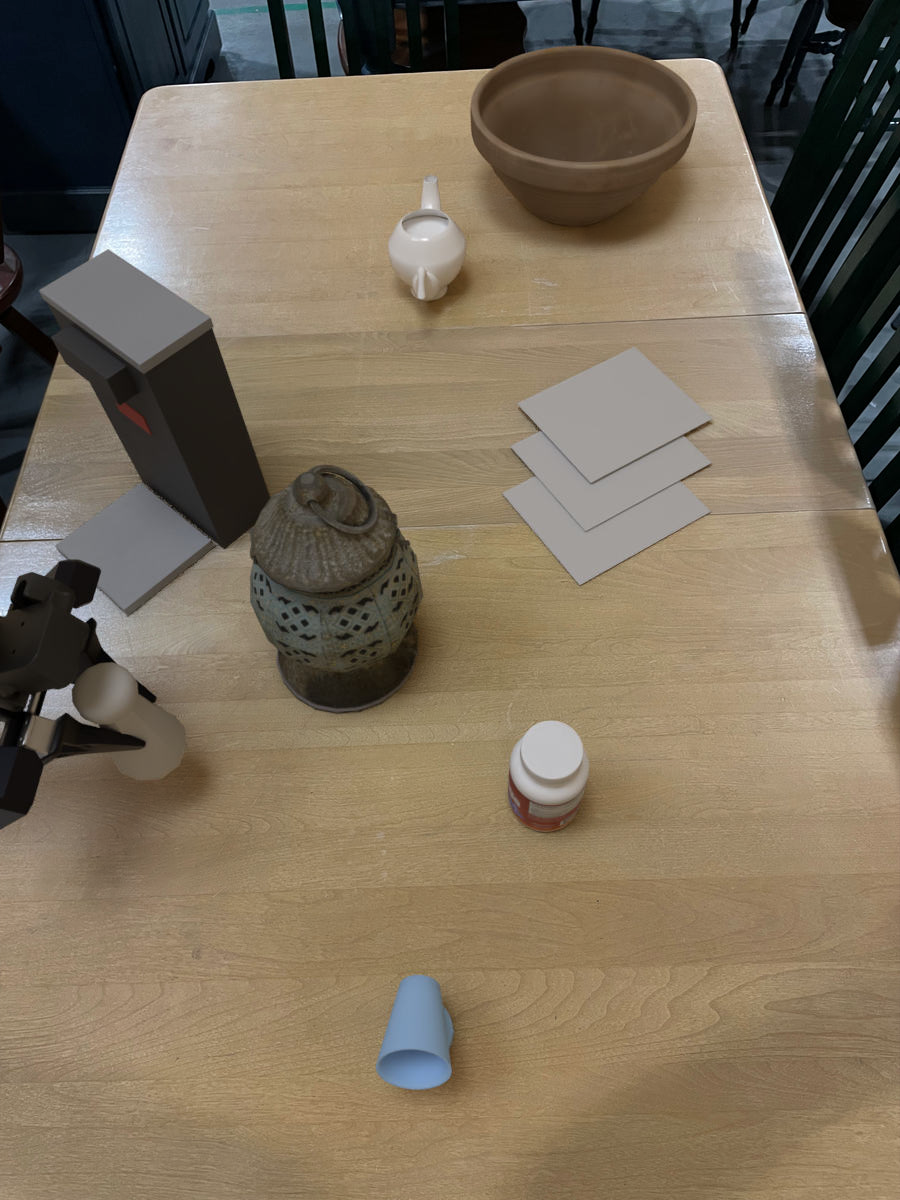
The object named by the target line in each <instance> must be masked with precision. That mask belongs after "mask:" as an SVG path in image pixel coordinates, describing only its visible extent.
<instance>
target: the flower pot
mask: <svg viewBox="0 0 900 1200" xmlns="http://www.w3.org/2000/svg"><path fill="white" fill-rule="evenodd" d="M469 111H470V112H469V113H470V131H471V132H470V133H471V138H472V141H473V143H474V146H475V148H476V150H477V152H478V153H479V154H480V156H481V157H482V158H483V159H484V160H485V161H486V162H487V164H489V165H490V167H491V168H492V170H493V172H494V174H495V175H496V176H497V177H498V178H499V180H500V181H501V183H502V185H503V186H505V188H506V189H507V190H508V191H509V192H510V193H511V194H512V196H513V197H514V198H515V199H516V200H518V201H519V202H520V203H521V204H522V205H523V206H524V207H525V208H526V209H527V210H528V211H529V212H530V213H531V214H533V215H534V216H535V217H537V218H539V219H541V220H543V221H545V222H548V223H551V224H555V225H559V226H567V227H582V226H583V227H584V226H589V225H594V224H597V223H600V222H604V221H606V220H607V219H610V218H611V217H613V216H614V215H615V214H616V213H618V212H619V211H621V210H622V209H624V208H625V207H627V206H628V205H630V204H631V203H633V202H634V201H635V200H637V199H638V198H639V197H641V196H642V195H643V194H644V193H645V192H646V191H647V190H649V189H650V188H651V187H652V186H653V185H654V184H655V183H657V182H658V180H659V179H660V178H661V177H662V175H663V174H665V173H667V172H668V171H669V170H671V169H672V168H673V167H674V166H675V165H677V164H678V163H679V161H680V160H681V159H682V158H684V156H685V154H686V153H687V151H688V149H689V147H690V144H691V142H692V137H693V134H694V131H695V127H696V121H697V116H698V101H697V98H696V95H695V94H694V91H693V90H692V88H691V87H690V86H689V84H688V83H687V82H686V81H685V80H684V79H683V78H682V77H681V76H680V75H679V74H678V73H676V72H675V71H673V69H670V68H669V67H668V66H665V64H663V63H660V62H658V61H656V60H654V59H652V58H649V57H646V56H643V55H641V54H639V53H634V52H631V51H627V50H623V49H618V48H612V47H605V46H594V45H563V46H554V47H548V48H547V47H546V48H543V49H537V50H533V51H532V50H531V51H528V52H525V53H522V54H519V55H516V56H513V57H511V58H509V59H507V60H505V61H503V62H501V63H499V64H498V65H496V66H495V67H493V68H491V70H489V71H488V72H487V73H486V74H484V76H482V77H481V79H480V80H479V82H478V83H477V84H476V86H475V87H474V90H473V92H472V95H471V98H470V109H469Z"/></svg>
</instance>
